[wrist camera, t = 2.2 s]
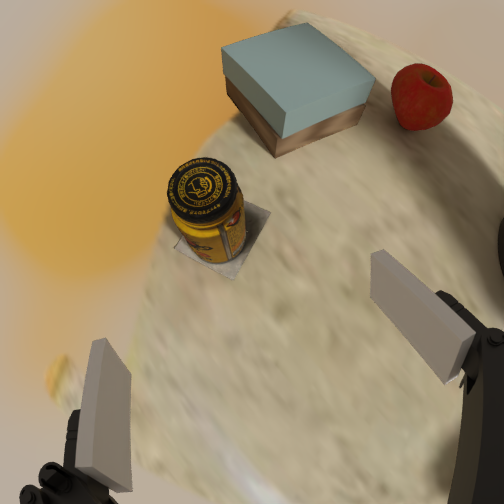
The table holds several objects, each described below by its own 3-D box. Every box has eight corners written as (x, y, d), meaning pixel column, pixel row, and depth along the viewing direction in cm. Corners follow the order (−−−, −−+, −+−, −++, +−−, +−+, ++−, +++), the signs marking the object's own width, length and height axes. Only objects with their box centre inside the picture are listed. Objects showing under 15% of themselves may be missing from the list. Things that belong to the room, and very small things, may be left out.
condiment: (174, 249, 33) (138, 203, 22) (213, 186, 35) (198, 120, 24) (233, 281, 32) (223, 249, 21) (270, 213, 34) (280, 153, 23)
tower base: (303, 68, 41) (307, 47, 37) (356, 126, 38) (365, 105, 34) (226, 94, 40) (224, 71, 35) (274, 160, 37) (277, 138, 32)
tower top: (303, 46, 37) (307, 22, 33) (365, 102, 34) (375, 78, 30) (223, 73, 35) (221, 47, 31) (282, 139, 32) (286, 112, 28)
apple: (368, 102, 39) (391, 49, 29) (412, 101, 40) (440, 54, 29) (393, 150, 37) (427, 99, 26) (438, 145, 37) (474, 101, 27)
